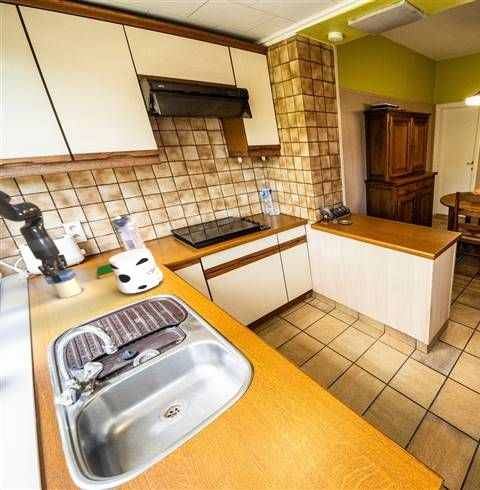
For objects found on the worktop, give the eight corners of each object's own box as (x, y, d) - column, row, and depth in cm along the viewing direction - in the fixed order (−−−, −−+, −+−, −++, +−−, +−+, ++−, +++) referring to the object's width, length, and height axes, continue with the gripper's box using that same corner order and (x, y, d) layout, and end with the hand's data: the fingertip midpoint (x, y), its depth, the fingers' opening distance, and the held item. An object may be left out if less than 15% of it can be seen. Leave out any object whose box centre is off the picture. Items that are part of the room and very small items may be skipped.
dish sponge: (99, 279, 142) (97, 275, 141) (99, 270, 151) (97, 267, 150) (116, 274, 147) (114, 270, 146) (115, 266, 156) (113, 262, 155)
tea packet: (48, 284, 123) (43, 277, 121) (55, 279, 127) (50, 272, 126) (70, 280, 126) (66, 273, 124) (76, 275, 130) (72, 268, 128)
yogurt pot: (55, 300, 125) (46, 285, 122) (65, 291, 132) (57, 278, 128) (76, 295, 127) (68, 281, 124) (85, 287, 134) (77, 274, 131)
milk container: (171, 283, 134) (158, 251, 127) (129, 301, 121) (112, 266, 114) (157, 275, 143) (144, 244, 136) (116, 290, 130) (99, 258, 123)
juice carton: (149, 251, 173) (132, 212, 163) (145, 257, 165) (128, 216, 154) (132, 255, 170) (114, 215, 159) (128, 261, 161) (108, 219, 150)
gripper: (42, 242, 124) (61, 274, 131) (19, 254, 112) (41, 288, 119) (63, 240, 127) (80, 270, 134) (43, 251, 115) (63, 284, 121)
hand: (62, 279), depth 126 cm, fingers closed on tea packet, 5 cm apart
